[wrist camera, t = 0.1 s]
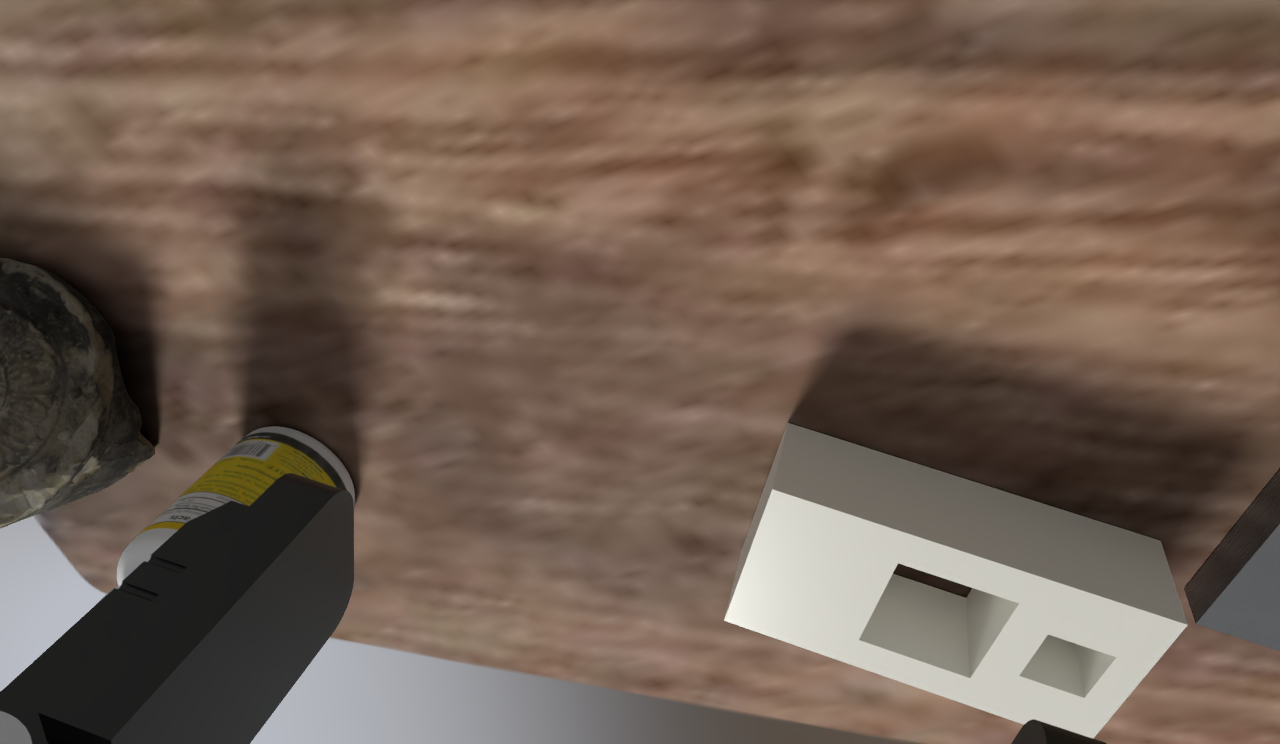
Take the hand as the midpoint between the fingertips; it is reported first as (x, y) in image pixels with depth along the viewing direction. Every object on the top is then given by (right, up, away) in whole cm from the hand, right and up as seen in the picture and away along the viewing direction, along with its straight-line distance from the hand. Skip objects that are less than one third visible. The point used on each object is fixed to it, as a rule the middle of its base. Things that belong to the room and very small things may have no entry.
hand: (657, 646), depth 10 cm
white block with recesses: (+10, -3, +20) cm, 22 cm away
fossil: (-24, +4, +27) cm, 36 cm away
